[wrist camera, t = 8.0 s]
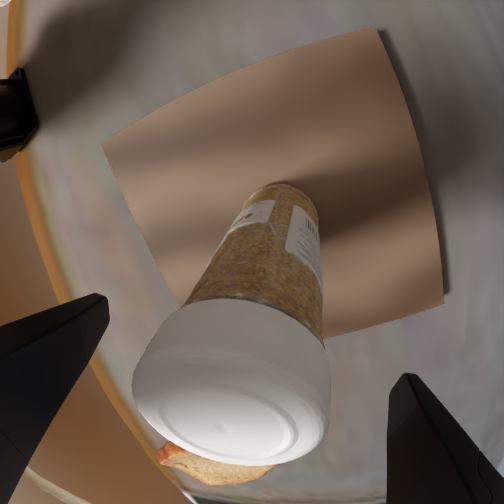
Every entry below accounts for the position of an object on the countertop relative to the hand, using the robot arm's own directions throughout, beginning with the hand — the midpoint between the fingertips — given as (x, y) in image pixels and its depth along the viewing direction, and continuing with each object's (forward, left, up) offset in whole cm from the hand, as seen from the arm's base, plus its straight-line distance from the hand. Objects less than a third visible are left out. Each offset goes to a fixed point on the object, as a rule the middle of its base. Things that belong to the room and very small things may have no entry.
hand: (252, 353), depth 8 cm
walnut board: (0, 0, -12) cm, 12 cm away
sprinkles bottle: (0, 0, -11) cm, 11 cm away
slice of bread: (+25, -17, -12) cm, 33 cm away
